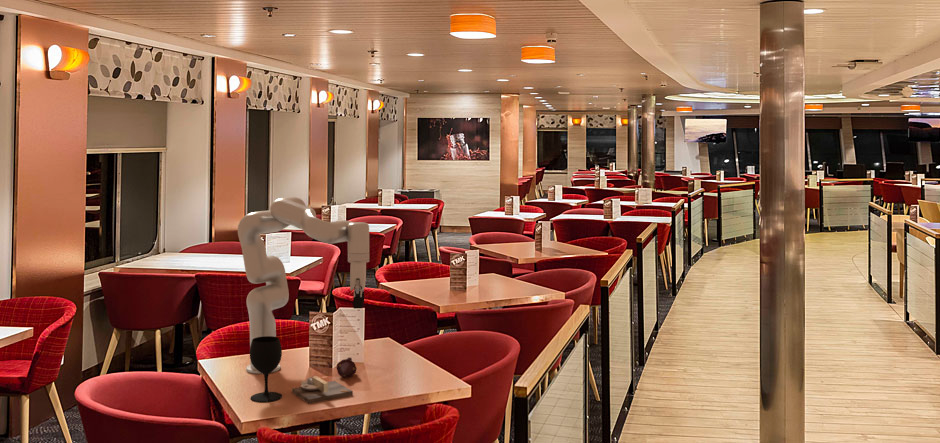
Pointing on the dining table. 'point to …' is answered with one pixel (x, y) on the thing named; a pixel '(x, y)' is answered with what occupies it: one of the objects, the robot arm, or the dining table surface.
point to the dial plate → (323, 393)
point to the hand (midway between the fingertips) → (358, 305)
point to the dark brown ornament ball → (346, 368)
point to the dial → (314, 384)
